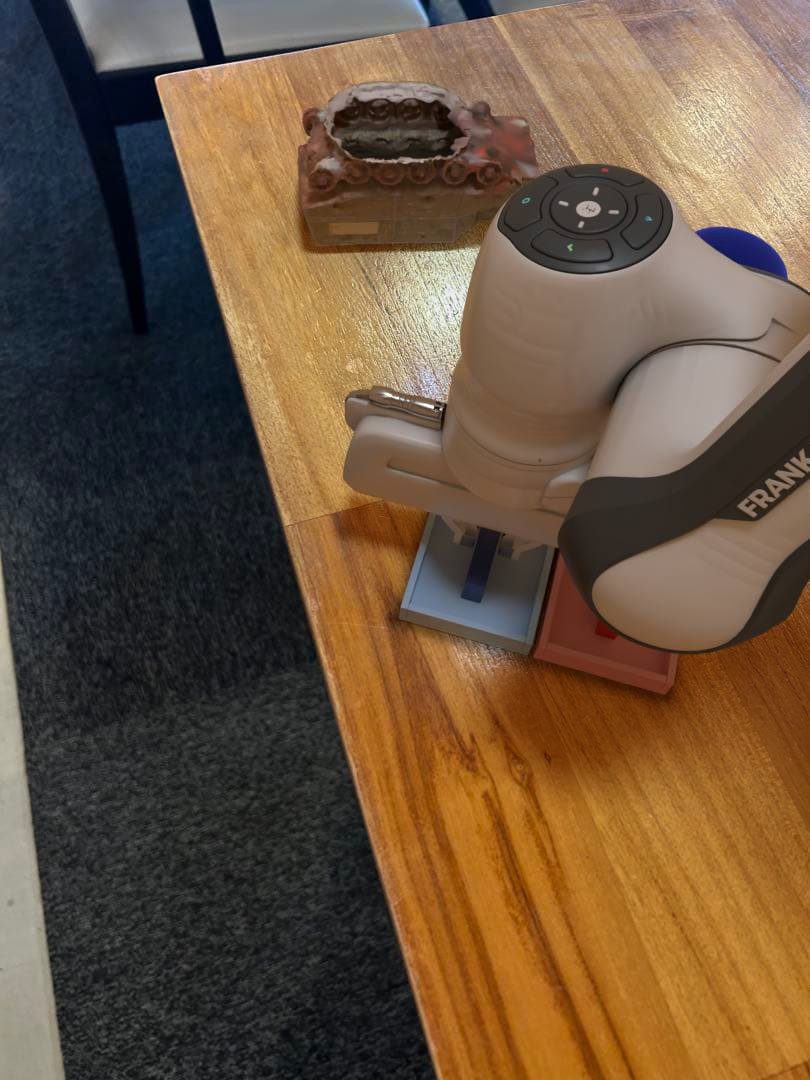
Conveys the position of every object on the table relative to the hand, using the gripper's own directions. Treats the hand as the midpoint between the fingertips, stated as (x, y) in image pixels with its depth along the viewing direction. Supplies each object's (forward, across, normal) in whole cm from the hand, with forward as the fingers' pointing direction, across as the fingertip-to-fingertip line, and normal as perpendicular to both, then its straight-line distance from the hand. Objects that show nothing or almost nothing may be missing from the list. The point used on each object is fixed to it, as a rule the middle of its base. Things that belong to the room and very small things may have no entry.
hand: (487, 543), depth 66 cm
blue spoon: (+1, 0, +3) cm, 3 cm away
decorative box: (+2, -14, +32) cm, 35 cm away
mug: (+2, +10, +22) cm, 24 cm away
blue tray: (+2, 0, +2) cm, 3 cm away
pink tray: (+2, +10, +2) cm, 10 cm away
